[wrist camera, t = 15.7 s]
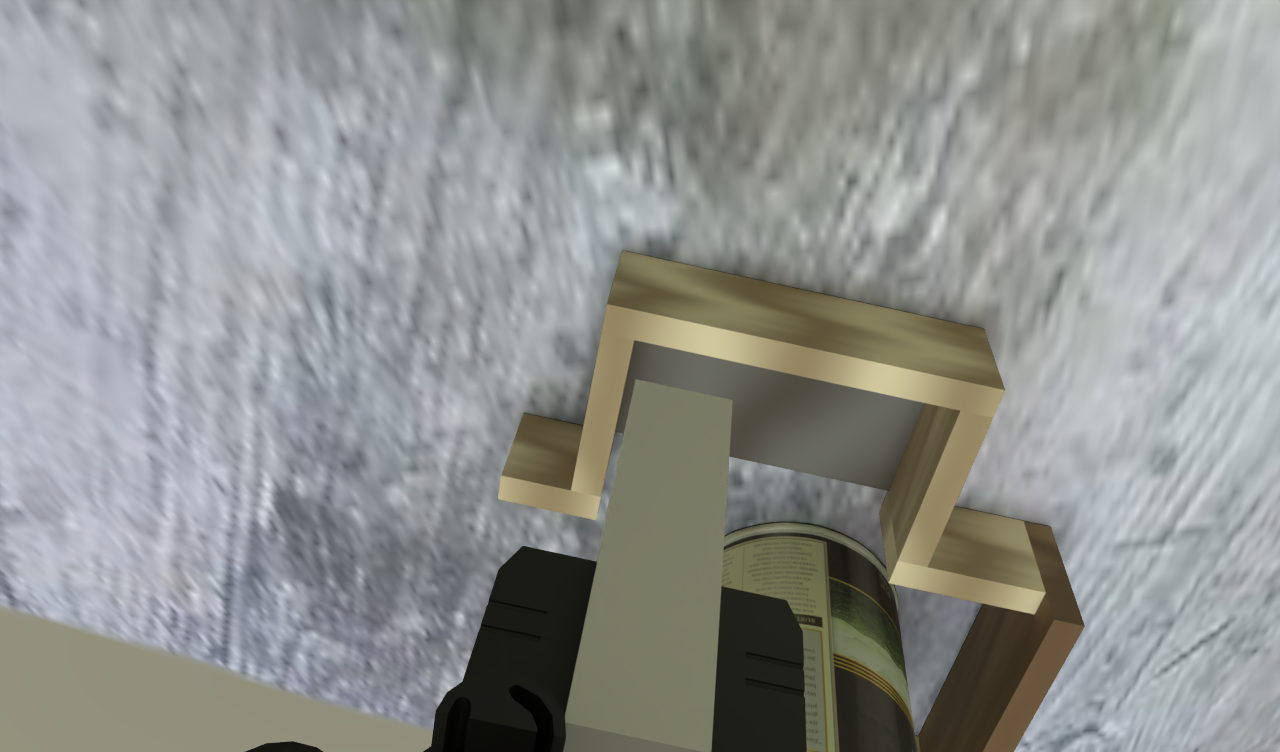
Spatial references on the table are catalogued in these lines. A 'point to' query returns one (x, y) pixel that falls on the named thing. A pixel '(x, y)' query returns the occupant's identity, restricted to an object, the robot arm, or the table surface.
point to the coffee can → (833, 631)
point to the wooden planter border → (837, 455)
